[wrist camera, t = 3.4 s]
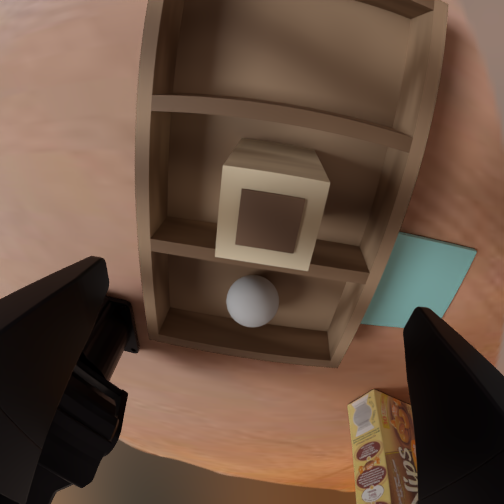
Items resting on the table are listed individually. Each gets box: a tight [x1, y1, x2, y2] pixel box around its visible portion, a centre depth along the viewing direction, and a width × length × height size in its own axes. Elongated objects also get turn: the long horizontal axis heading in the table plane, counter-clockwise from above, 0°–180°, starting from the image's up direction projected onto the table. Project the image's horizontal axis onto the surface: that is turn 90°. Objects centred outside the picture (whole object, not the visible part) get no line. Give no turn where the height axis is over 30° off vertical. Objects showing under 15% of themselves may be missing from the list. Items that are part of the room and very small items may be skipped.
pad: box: [360, 232, 477, 328], centre depth 20 cm, size 8×8×1 cm
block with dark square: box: [215, 138, 330, 271], centre depth 14 cm, size 4×4×6 cm
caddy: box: [135, 0, 448, 368], centre depth 16 cm, size 24×14×3 cm, turn 173°
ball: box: [226, 275, 279, 327], centre depth 20 cm, size 3×3×3 cm
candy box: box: [347, 389, 419, 504], centre depth 23 cm, size 9×4×15 cm, turn 56°
